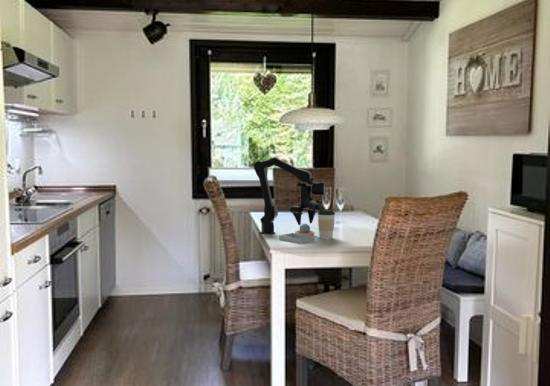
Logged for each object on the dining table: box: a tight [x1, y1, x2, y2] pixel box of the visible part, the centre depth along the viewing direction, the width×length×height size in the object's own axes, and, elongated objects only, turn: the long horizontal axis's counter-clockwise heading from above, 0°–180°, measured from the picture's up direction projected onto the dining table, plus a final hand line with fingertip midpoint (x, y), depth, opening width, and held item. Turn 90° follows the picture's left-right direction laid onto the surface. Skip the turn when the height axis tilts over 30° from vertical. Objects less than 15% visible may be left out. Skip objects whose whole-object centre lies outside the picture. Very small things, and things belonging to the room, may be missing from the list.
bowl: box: [294, 229, 315, 236], centre depth 282 cm, size 10×10×2 cm
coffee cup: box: [317, 208, 336, 240], centre depth 276 cm, size 9×9×15 cm
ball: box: [299, 223, 311, 233], centre depth 282 cm, size 6×6×6 cm
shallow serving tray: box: [278, 232, 316, 245], centre depth 269 cm, size 15×10×2 cm
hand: (305, 224), depth 282 cm, fingers open, 9 cm apart
